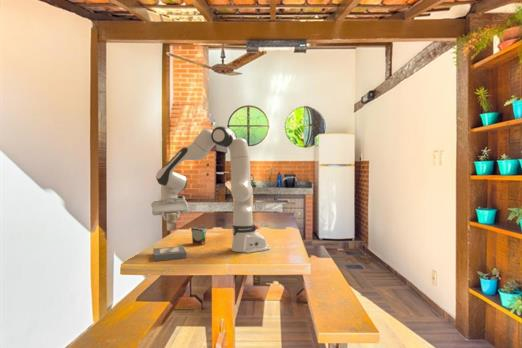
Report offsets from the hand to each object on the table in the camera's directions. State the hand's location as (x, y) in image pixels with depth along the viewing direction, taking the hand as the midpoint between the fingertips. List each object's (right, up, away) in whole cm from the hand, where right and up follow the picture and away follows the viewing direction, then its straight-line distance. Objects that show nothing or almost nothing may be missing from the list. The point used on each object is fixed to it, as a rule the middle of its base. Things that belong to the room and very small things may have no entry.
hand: (171, 219), depth 192 cm
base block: (+1, -19, -8) cm, 20 cm away
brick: (0, -6, +1) cm, 6 cm away
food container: (+13, -18, +21) cm, 31 cm away
